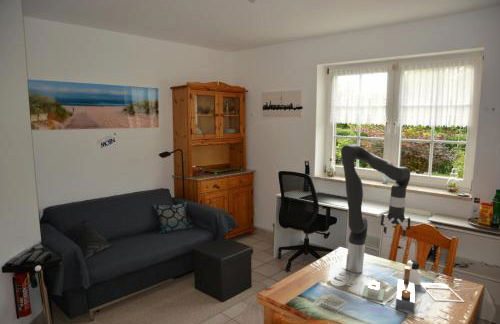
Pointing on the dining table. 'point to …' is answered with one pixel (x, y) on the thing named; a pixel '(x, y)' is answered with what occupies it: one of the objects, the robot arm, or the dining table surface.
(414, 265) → the medicine bottle
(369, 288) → the lever cap
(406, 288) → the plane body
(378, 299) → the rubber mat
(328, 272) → the dining table surface
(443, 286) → the photo frame
